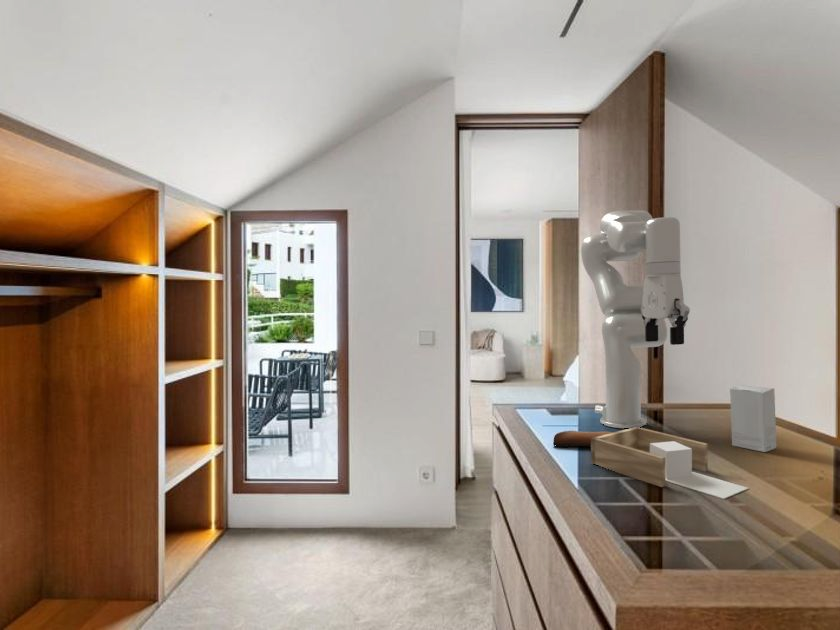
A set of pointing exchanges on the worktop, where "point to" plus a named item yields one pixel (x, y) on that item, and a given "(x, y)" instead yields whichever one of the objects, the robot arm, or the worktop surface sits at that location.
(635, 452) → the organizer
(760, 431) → the skincare box
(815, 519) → the worktop surface
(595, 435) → the sunglasses case
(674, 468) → the white cube
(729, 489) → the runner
